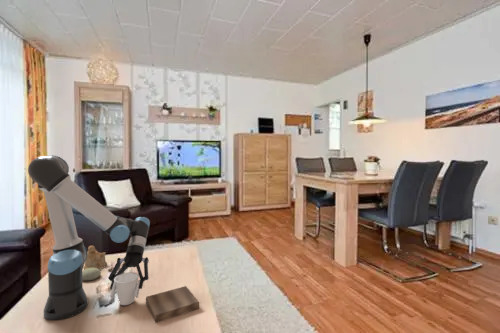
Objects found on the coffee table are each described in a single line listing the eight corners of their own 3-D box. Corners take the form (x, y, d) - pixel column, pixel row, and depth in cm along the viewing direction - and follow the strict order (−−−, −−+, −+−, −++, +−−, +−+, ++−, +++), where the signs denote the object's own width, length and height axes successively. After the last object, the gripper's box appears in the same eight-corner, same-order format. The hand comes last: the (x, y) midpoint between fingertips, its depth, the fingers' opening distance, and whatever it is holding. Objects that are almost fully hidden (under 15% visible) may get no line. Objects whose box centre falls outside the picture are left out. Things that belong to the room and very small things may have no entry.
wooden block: (155, 322, 104) (155, 315, 103) (146, 303, 117) (146, 296, 117) (199, 308, 113) (199, 301, 113) (185, 292, 127) (185, 286, 127)
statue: (90, 244, 161) (104, 240, 159) (97, 266, 161) (110, 263, 158) (73, 251, 149) (87, 247, 147) (80, 275, 149) (94, 272, 147)
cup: (129, 309, 111) (129, 283, 111) (108, 306, 113) (108, 281, 113) (143, 297, 121) (143, 273, 121) (124, 294, 123) (124, 271, 123)
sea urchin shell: (95, 268, 147) (99, 261, 144) (99, 281, 144) (104, 274, 140) (76, 274, 140) (80, 266, 137) (81, 287, 137) (85, 280, 133)
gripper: (160, 250, 133) (152, 298, 118) (114, 251, 131) (99, 300, 115) (158, 243, 127) (148, 293, 112) (110, 244, 125) (93, 294, 110)
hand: (124, 296), depth 114 cm, fingers closed on cup, 9 cm apart
